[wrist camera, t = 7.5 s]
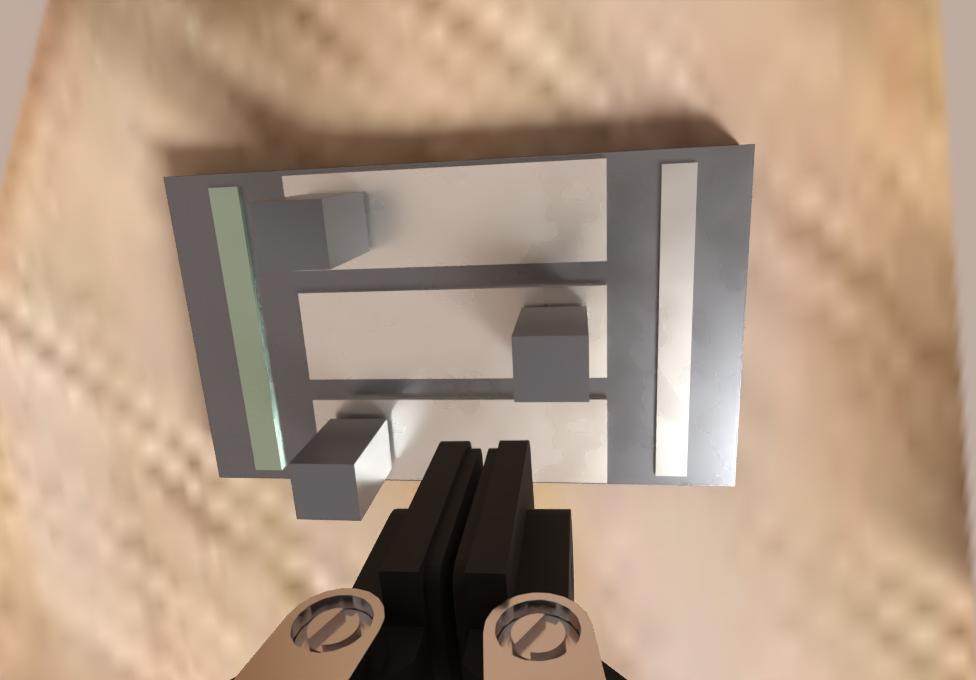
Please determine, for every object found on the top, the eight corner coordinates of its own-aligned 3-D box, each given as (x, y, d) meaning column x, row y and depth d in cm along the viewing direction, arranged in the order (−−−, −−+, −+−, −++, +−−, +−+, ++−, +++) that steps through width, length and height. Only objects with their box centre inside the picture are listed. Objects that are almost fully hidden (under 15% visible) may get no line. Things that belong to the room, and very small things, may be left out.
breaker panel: (723, 462, 27) (736, 489, 25) (242, 457, 30) (216, 480, 28) (740, 145, 24) (757, 143, 21) (192, 175, 27) (158, 177, 24)
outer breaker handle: (369, 251, 24) (330, 269, 20) (308, 253, 24) (258, 271, 20) (363, 191, 23) (321, 198, 19) (301, 194, 24) (248, 202, 20)
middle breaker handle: (587, 362, 24) (589, 402, 20) (523, 363, 24) (514, 402, 20) (586, 306, 23) (588, 335, 20) (521, 307, 24) (511, 336, 20)
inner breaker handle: (392, 467, 26) (361, 520, 22) (336, 467, 27) (297, 518, 23) (386, 418, 26) (354, 464, 22) (330, 418, 26) (288, 463, 22)
